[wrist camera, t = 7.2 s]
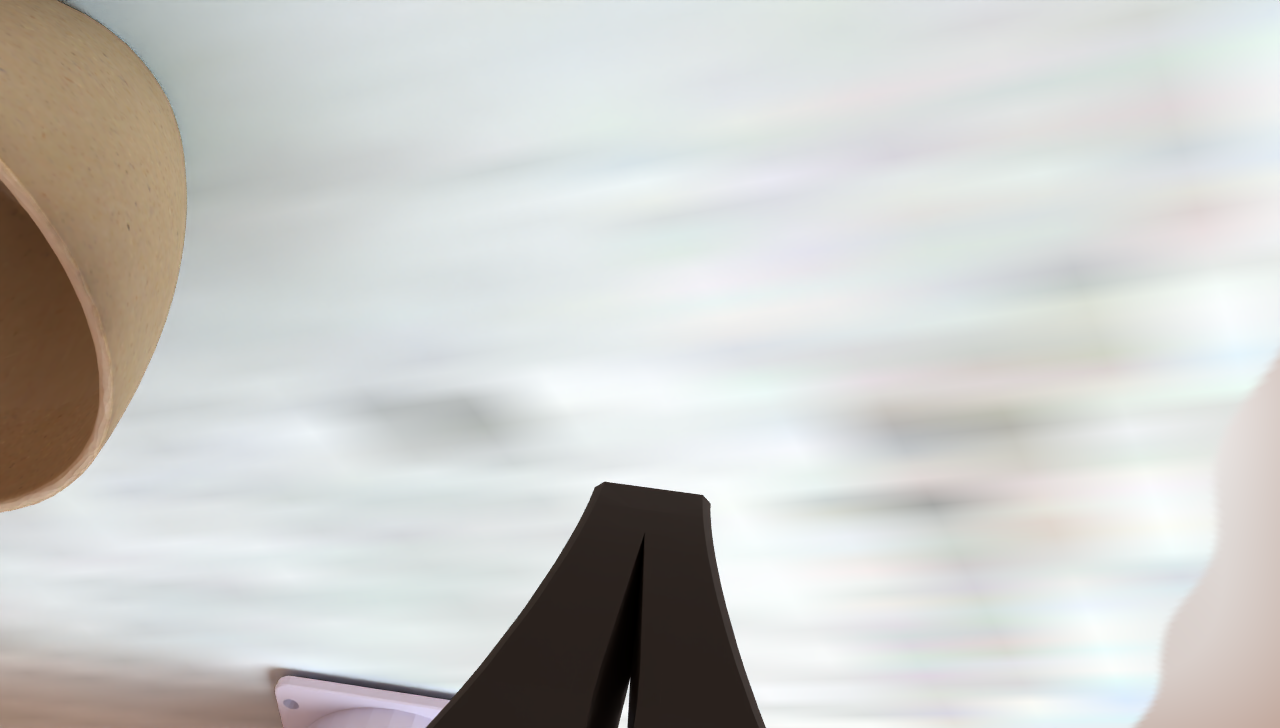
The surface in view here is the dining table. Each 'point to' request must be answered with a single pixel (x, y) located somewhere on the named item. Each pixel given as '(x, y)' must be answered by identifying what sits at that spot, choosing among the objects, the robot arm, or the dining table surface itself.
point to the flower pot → (78, 239)
